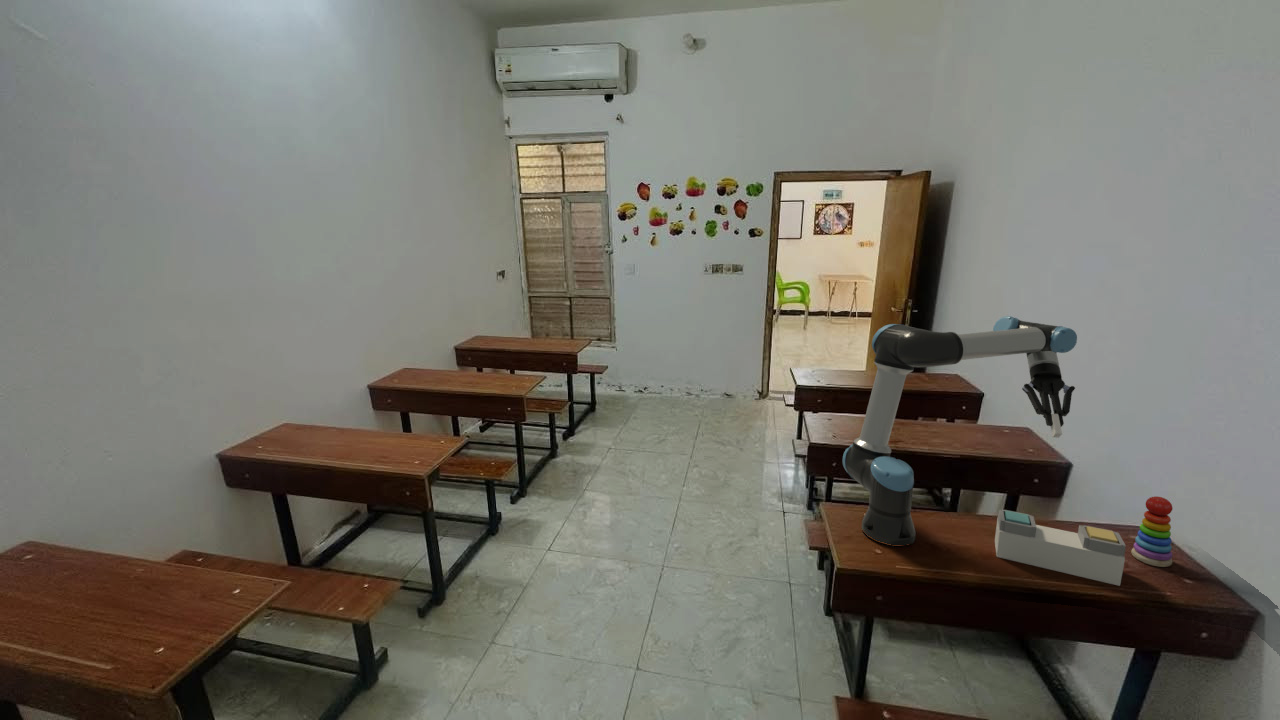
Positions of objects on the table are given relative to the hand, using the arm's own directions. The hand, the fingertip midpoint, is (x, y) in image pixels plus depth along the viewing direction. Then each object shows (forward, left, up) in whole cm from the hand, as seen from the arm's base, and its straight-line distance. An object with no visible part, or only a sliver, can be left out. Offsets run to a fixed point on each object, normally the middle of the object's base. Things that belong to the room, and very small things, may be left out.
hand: (1057, 435), depth 144 cm
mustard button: (+9, -16, -24) cm, 30 cm away
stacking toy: (+23, -2, -32) cm, 40 cm away
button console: (0, -16, -32) cm, 36 cm away
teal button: (-9, -16, -24) cm, 30 cm away
